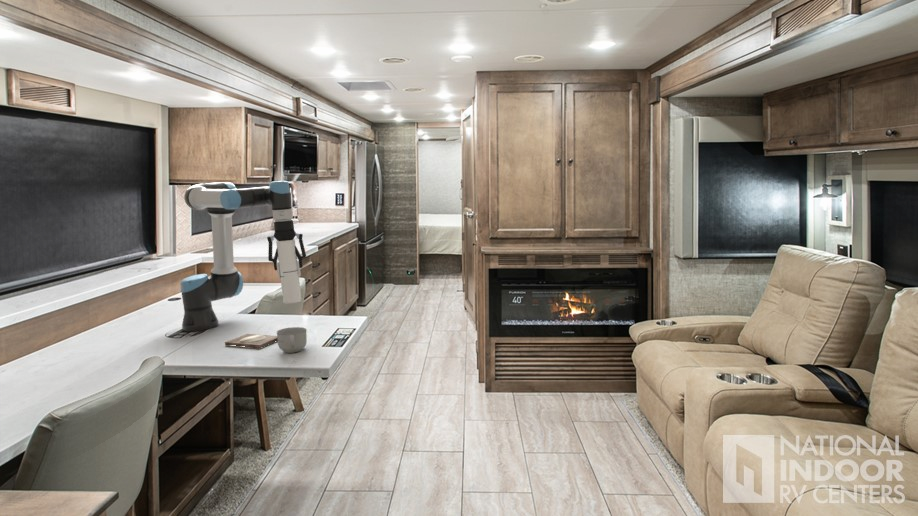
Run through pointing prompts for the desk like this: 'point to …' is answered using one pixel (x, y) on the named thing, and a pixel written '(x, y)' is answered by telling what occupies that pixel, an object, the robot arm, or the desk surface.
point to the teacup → (292, 339)
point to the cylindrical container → (288, 271)
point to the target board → (252, 340)
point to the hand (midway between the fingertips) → (289, 276)
